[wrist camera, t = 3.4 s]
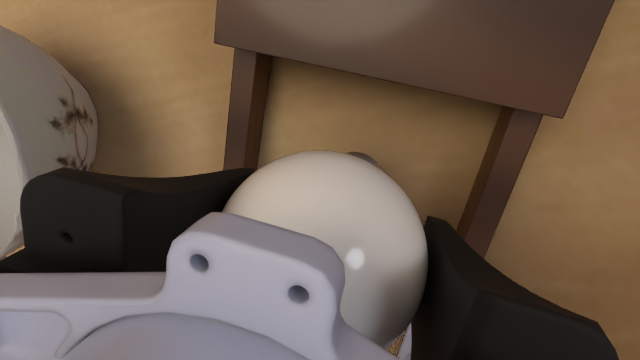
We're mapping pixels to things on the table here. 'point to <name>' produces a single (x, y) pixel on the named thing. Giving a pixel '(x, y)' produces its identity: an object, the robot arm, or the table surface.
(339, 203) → the lightbulb
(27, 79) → the teacup
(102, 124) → the table surface
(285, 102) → the table surface
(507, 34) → the rack
